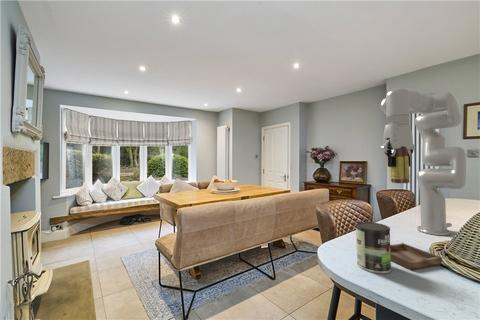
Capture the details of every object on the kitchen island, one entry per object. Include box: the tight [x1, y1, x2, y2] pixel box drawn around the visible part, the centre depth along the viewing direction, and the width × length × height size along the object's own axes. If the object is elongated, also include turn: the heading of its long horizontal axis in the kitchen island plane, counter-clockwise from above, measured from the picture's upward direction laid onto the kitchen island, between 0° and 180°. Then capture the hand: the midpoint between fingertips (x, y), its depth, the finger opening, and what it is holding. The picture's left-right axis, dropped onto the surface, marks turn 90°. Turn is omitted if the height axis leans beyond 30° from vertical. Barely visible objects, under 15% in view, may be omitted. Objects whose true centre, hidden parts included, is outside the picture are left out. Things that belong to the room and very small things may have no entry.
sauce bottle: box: [389, 146, 411, 184], centre depth 86 cm, size 6×6×20 cm
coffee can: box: [355, 221, 392, 275], centre depth 76 cm, size 10×10×14 cm
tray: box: [390, 242, 443, 271], centre depth 81 cm, size 14×14×2 cm
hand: (399, 166), depth 86 cm, fingers closed on sauce bottle, 6 cm apart
